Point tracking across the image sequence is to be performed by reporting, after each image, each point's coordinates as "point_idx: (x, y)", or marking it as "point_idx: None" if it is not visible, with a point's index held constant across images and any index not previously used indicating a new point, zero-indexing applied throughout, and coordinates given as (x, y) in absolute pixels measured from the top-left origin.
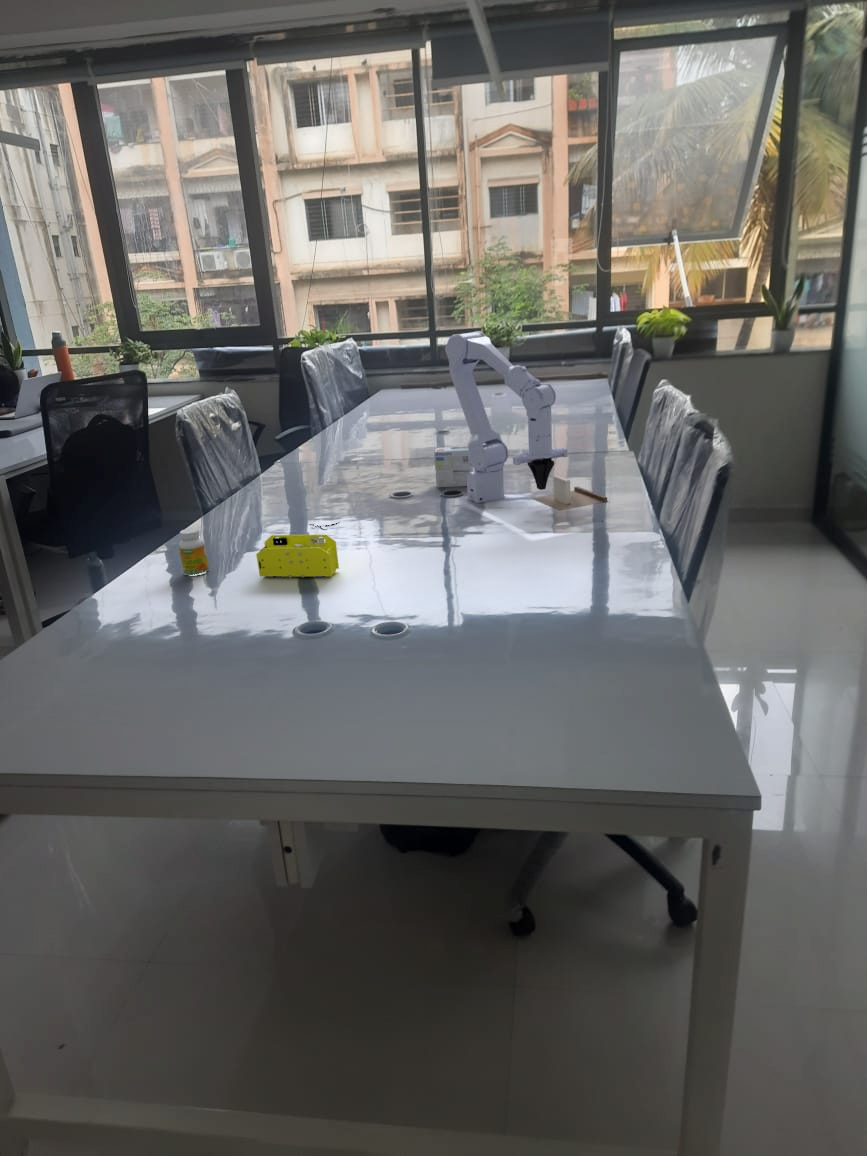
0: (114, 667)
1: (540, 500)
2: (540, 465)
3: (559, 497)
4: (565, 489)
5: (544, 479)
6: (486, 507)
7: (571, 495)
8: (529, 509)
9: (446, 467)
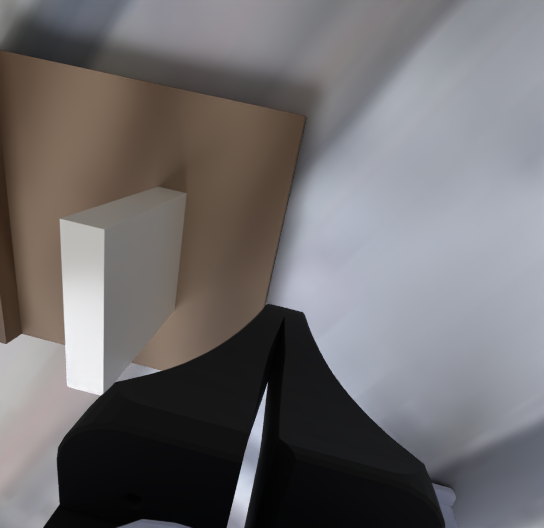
0: None
1: None
2: (388, 471)
3: (171, 266)
4: (145, 214)
5: (273, 341)
6: (427, 470)
7: None
8: (331, 317)
9: None
